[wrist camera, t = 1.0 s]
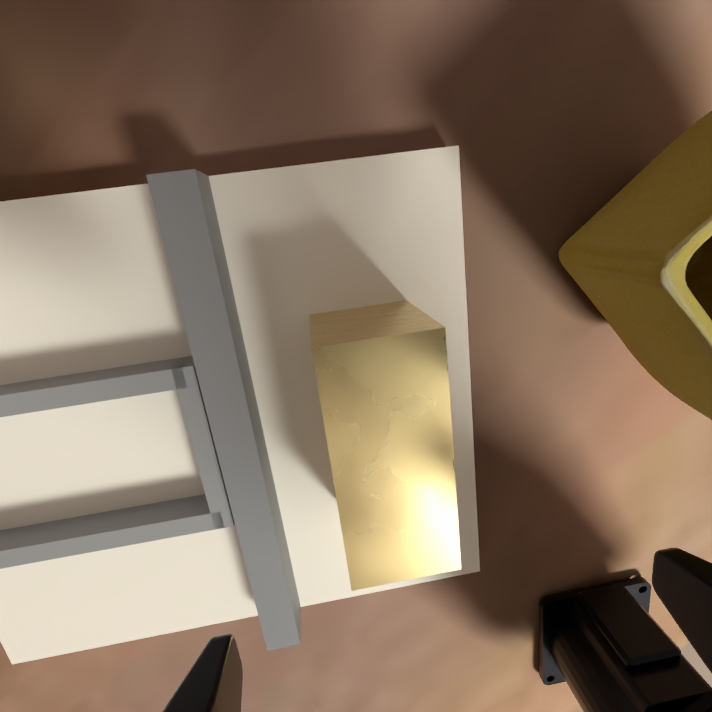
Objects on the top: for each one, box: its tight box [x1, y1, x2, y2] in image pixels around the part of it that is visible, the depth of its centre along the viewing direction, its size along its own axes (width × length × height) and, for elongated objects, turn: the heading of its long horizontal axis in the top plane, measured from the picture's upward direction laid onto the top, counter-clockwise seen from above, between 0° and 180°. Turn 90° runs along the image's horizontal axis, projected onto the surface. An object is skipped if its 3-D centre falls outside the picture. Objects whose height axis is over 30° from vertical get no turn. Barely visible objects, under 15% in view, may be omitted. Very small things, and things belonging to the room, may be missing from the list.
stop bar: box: [309, 300, 461, 591], centre depth 16 cm, size 9×4×5 cm, turn 7°
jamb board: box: [0, 145, 480, 664], centre depth 18 cm, size 20×23×3 cm
